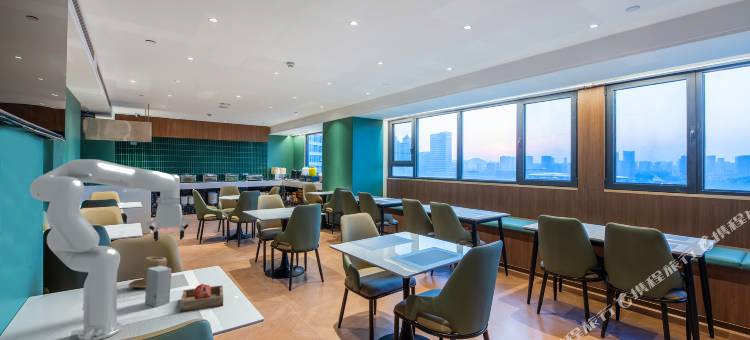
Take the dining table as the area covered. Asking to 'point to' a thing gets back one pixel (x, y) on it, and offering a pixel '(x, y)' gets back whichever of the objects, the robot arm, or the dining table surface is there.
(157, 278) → the skincare box
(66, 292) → the dining table surface
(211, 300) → the walnut tray
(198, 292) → the pomegranate
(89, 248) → the robot arm
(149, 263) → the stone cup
